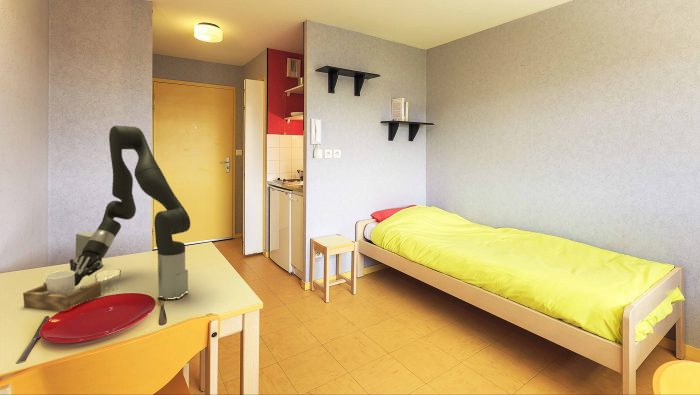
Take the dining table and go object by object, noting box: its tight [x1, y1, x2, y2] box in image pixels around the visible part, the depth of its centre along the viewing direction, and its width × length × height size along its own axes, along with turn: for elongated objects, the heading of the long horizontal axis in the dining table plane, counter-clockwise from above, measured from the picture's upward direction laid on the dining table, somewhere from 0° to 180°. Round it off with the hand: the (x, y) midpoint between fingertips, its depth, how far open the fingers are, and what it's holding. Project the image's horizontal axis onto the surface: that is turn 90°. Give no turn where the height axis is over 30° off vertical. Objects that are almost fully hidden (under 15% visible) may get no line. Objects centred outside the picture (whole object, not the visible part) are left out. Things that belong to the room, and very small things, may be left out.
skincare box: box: [75, 231, 103, 264], centre depth 152 cm, size 8×7×16 cm
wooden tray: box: [22, 281, 102, 312], centre depth 121 cm, size 16×14×6 cm
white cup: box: [45, 269, 76, 295], centre depth 120 cm, size 8×8×10 cm
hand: (72, 285), depth 124 cm, fingers closed
